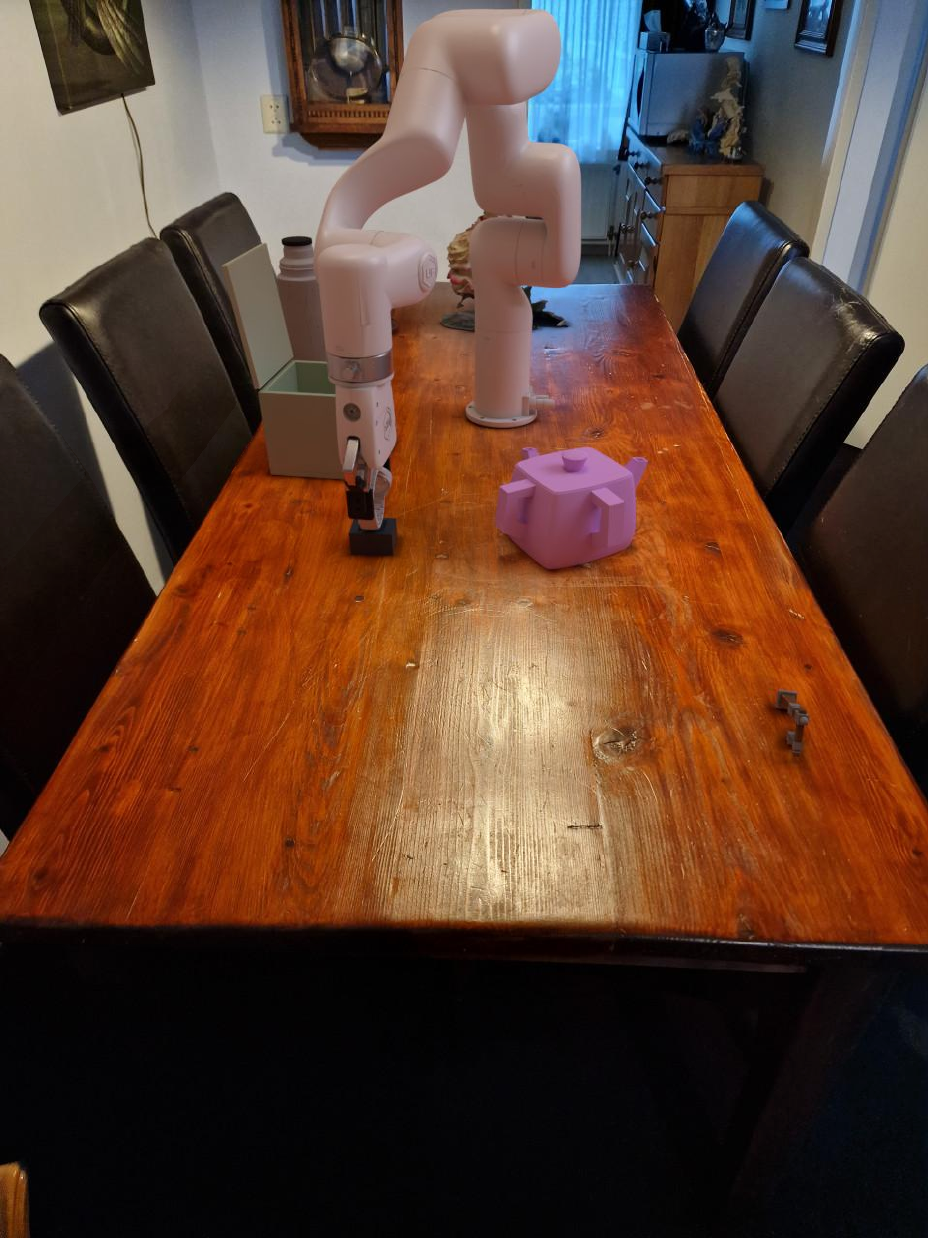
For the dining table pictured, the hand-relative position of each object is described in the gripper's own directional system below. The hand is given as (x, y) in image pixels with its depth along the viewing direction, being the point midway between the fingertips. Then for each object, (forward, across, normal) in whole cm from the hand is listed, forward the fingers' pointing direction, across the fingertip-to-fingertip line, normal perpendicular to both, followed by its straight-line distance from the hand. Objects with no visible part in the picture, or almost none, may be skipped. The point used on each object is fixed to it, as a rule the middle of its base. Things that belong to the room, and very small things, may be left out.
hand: (370, 501), depth 103 cm
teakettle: (+7, +6, -25) cm, 27 cm away
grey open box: (+7, +26, +13) cm, 30 cm away
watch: (+7, 0, 0) cm, 7 cm away
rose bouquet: (+7, +106, -3) cm, 106 cm away
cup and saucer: (+7, +94, +24) cm, 97 cm away
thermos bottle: (+7, +48, +23) cm, 54 cm away
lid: (-15, +26, +22) cm, 37 cm away
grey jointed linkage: (+7, -28, -48) cm, 56 cm away
